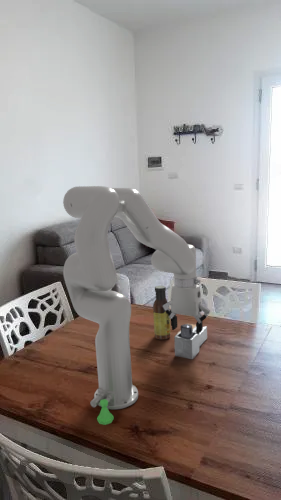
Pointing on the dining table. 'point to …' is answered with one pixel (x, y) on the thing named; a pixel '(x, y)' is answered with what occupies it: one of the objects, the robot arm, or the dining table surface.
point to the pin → (186, 331)
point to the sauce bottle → (161, 315)
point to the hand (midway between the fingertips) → (186, 330)
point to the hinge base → (187, 344)
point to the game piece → (104, 413)
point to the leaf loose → (202, 335)
